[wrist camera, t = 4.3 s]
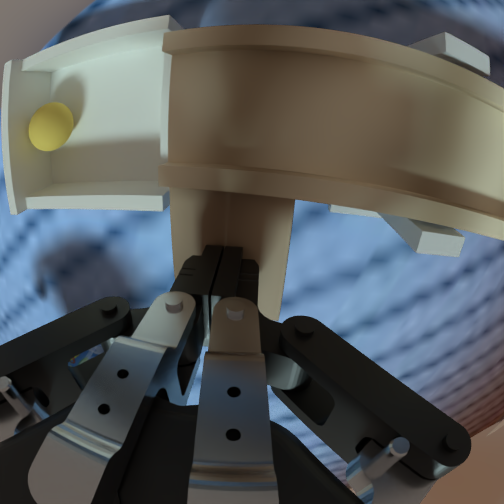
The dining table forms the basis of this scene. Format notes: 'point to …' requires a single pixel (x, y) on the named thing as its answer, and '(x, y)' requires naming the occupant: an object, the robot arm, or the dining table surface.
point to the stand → (415, 231)
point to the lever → (321, 139)
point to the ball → (51, 126)
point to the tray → (92, 121)
